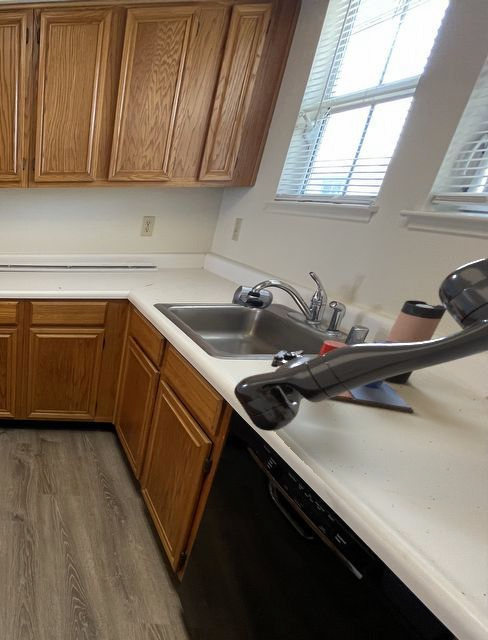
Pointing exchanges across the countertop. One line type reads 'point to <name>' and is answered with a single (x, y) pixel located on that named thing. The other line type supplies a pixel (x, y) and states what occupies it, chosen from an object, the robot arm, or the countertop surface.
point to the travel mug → (414, 327)
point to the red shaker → (330, 346)
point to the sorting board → (375, 398)
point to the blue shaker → (379, 383)
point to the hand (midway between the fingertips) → (322, 360)
